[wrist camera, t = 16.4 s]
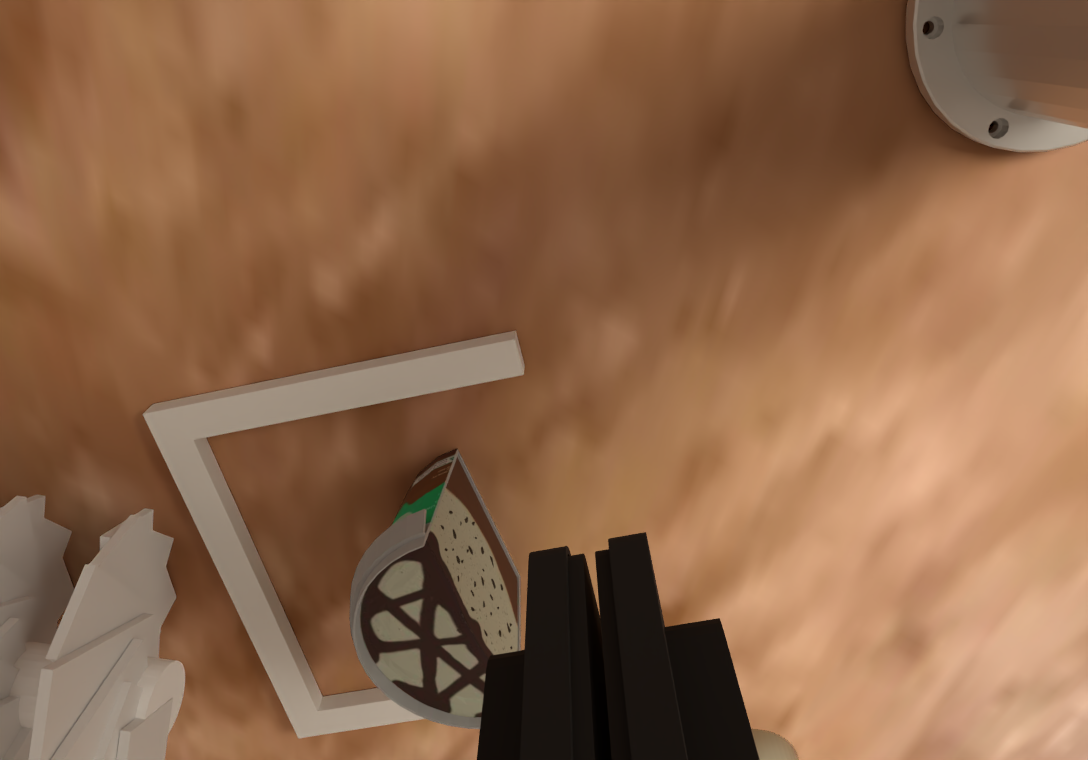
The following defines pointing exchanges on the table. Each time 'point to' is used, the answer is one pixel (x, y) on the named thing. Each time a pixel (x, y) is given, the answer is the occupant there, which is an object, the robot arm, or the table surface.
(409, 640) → the food container
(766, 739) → the pale green cylinder
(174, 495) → the table surface
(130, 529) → the spiral staircase
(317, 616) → the table surface
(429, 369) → the corral
